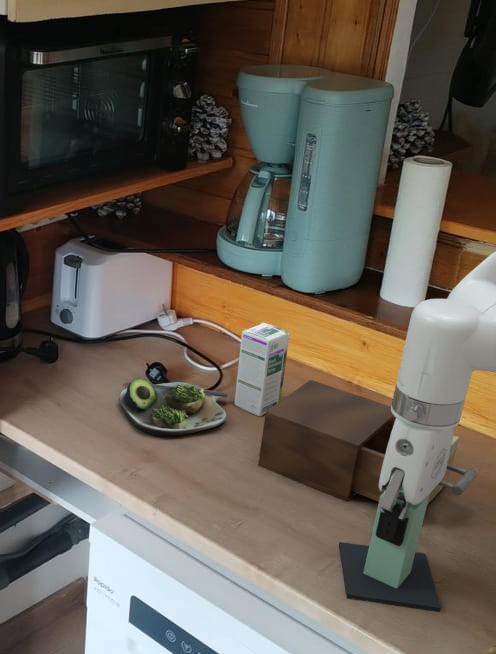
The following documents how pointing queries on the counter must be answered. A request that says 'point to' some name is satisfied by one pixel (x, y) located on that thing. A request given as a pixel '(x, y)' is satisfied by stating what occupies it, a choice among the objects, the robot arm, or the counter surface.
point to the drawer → (373, 461)
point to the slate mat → (363, 587)
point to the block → (395, 548)
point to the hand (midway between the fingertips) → (397, 530)
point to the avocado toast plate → (171, 407)
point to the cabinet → (320, 436)
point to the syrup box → (261, 368)
